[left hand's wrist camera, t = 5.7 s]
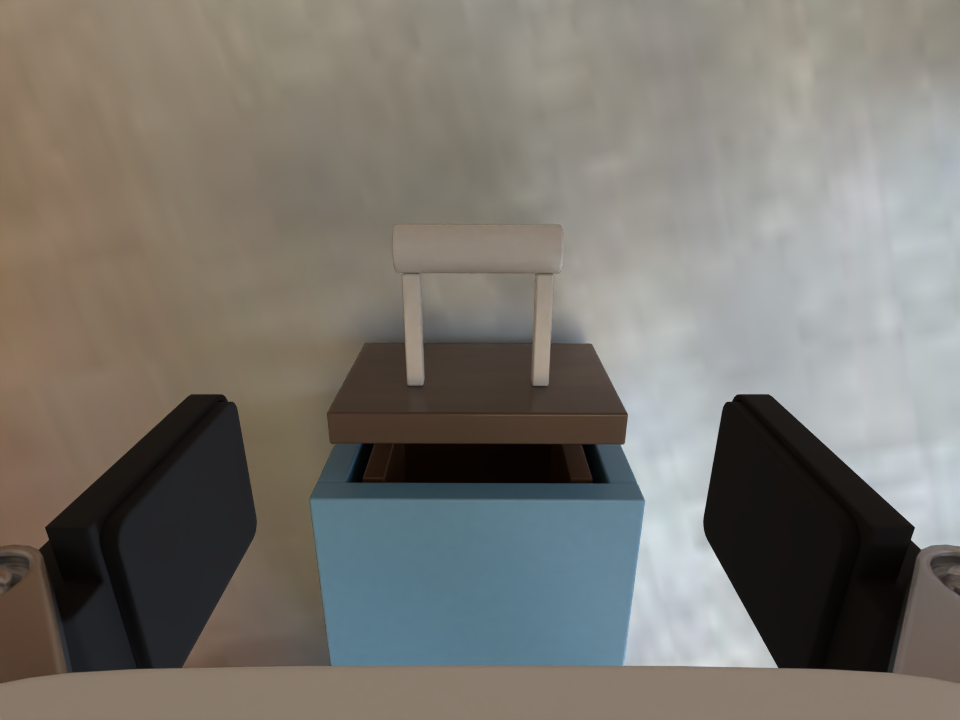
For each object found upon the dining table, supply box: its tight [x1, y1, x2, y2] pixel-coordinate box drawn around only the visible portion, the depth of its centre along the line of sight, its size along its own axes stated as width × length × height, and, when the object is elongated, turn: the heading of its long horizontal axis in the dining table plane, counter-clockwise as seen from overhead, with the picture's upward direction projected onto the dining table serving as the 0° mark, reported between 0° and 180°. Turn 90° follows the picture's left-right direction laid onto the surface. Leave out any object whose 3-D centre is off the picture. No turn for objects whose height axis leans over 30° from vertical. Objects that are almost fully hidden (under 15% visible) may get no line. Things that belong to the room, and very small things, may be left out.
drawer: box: [327, 224, 628, 484], centre depth 25 cm, size 26×10×7 cm, turn 0°
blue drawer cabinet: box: [309, 443, 645, 666], centre depth 27 cm, size 22×11×9 cm, turn 0°
